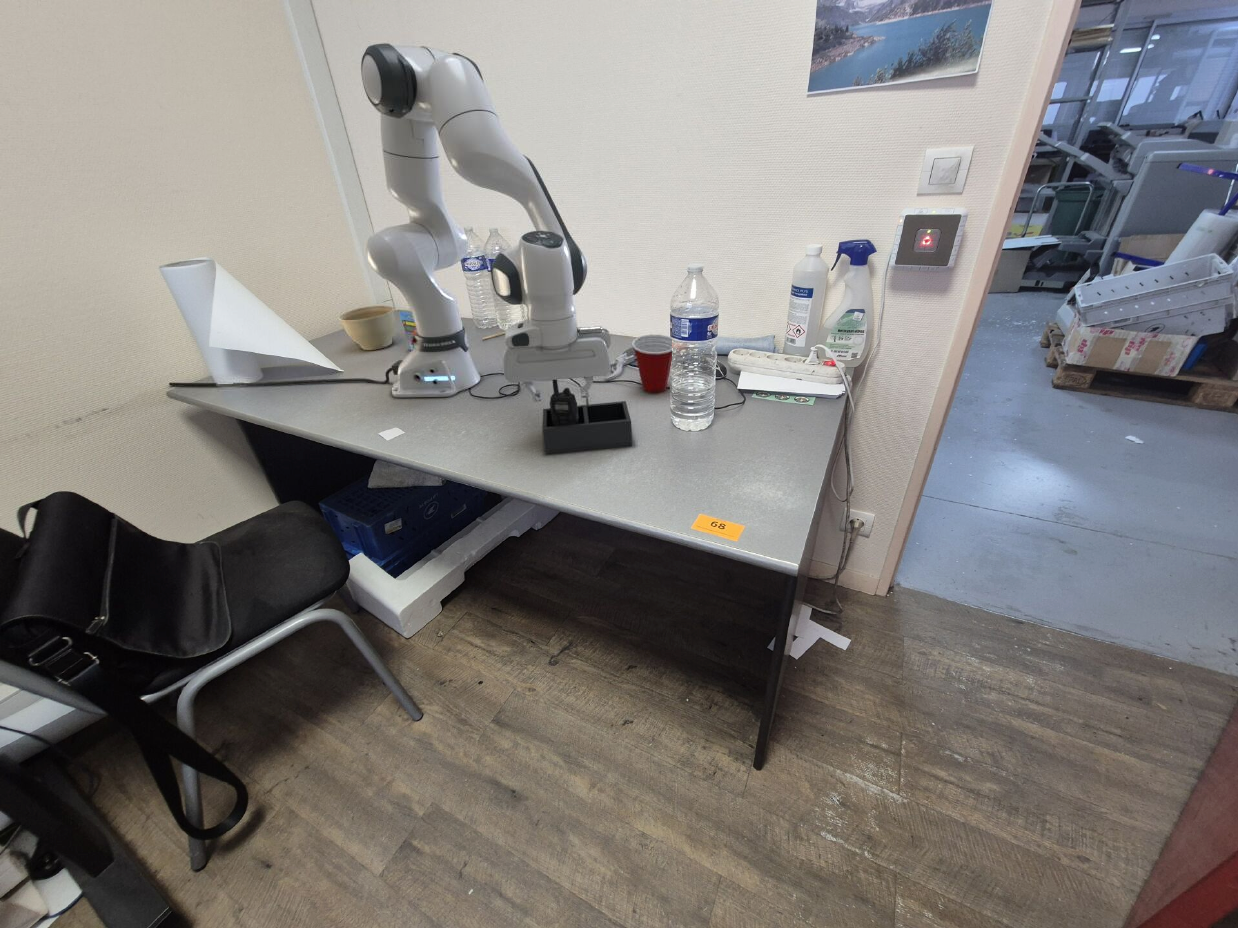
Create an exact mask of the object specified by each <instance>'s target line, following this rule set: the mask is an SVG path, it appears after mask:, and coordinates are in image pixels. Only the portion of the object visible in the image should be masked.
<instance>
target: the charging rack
mask: <svg viewBox="0 0 1238 928" xmlns="http://www.w3.org/2000/svg"><path fill="white" fill-rule="evenodd" d="M577 407H578V419H579V424H574V425H564V426H554V427H553V421H552V414H551V409H550V407H548V408H543V409H542V426H541V427H542V429H541V430H542V436H543V437H542V438H543V443H544V450H545V455H546V456H547V455H558V454H568V453H576V452H585V451H595V450H606V449H607V450H608V449H615V448H626V447H633V432H632V431H633V430H632V428H633V427H632V419H631V415H630V412H629V409H628V405H627V401H626V400H622V401H612V402H601V403H591V404H582V405H581V404H579V405H577Z"/></svg>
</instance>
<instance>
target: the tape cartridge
mask: <svg viewBox="0 0 1238 928" xmlns="http://www.w3.org/2000/svg"><path fill="white" fill-rule="evenodd" d="M398 312H399V316H400V320H401V322H402V325H403V329H404V332H405V335H406V339H407V343H408V346H409V350H410V351H412V350H413V349H414V347H413V345H411V342H410V341H411V337H412V336H413V335H412V334H413V332H414V331H415V330H417V329H416V326H415V322H414V319H413V316H412V313H411V312H406V311H400V310H398ZM409 317H411V318H409Z"/></svg>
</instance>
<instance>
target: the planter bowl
mask: <svg viewBox="0 0 1238 928" xmlns="http://www.w3.org/2000/svg"><path fill="white" fill-rule="evenodd" d="M394 312H395V311H394V308H393V306H391V305H371V306H369V305H368V306H363V307H359V308H355V309H351V310H348V311H346V312H343V313H341V314H340V315H339V316H338V319H339V322H340V323H341V326H342V327H343V329H344V331H345V332H346V334H347V335H348V336H349V337H350V338H351V340H352V341H353V342H355V343H356V344H358V345H359V346H360V348H361V349H362V350H366V351H372V350H373V351H375V350H379V349H384V348H386V347H388V346H391V345H392V344H393V337H394V334H395V330H396V317H395V313H394Z"/></svg>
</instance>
